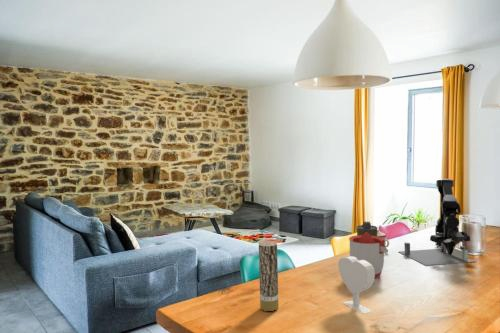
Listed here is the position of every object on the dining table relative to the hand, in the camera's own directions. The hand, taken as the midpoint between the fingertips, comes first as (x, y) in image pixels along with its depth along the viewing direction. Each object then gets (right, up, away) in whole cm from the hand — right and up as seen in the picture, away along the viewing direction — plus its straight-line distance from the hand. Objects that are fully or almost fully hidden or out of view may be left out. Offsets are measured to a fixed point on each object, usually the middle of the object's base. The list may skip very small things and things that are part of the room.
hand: (450, 254), depth 205 cm
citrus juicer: (-48, -5, -21) cm, 52 cm away
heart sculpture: (-63, -7, -55) cm, 84 cm away
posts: (-5, -2, +7) cm, 9 cm away
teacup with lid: (-29, -3, +22) cm, 36 cm away
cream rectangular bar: (+5, -2, +4) cm, 6 cm away
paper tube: (-95, -8, -55) cm, 110 cm away
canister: (-41, -4, +4) cm, 42 cm away
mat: (-5, -2, +6) cm, 8 cm away
